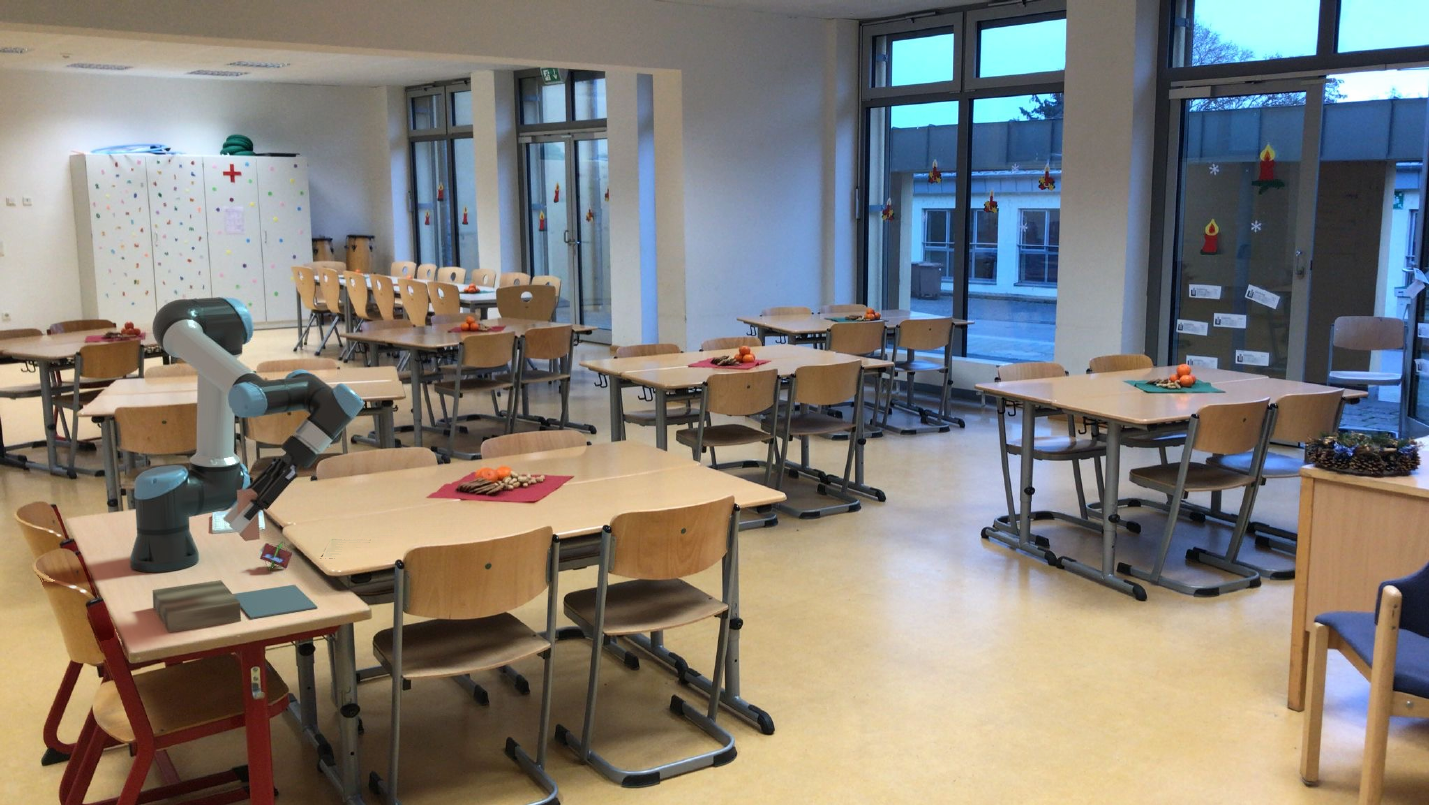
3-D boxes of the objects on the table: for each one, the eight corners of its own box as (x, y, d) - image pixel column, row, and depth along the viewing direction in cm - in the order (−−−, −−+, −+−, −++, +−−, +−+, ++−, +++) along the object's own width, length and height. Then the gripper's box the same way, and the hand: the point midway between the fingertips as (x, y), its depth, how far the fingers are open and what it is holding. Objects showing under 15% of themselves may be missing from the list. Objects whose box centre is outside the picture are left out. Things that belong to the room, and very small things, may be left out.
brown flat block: (153, 607, 254) (152, 590, 254) (221, 597, 262) (221, 580, 261) (169, 632, 240) (168, 614, 239) (240, 621, 247) (240, 602, 247)
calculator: (212, 535, 312) (211, 528, 312) (212, 517, 331) (212, 511, 330) (265, 532, 318) (265, 525, 317) (262, 514, 336) (262, 507, 336)
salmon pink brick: (239, 534, 256) (236, 490, 254) (253, 532, 258) (251, 488, 256) (245, 541, 251) (242, 495, 249) (259, 539, 253) (257, 494, 251)
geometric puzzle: (302, 556, 287) (281, 530, 286) (294, 564, 281) (273, 538, 279) (279, 573, 288) (258, 547, 286) (270, 581, 281) (249, 555, 280)
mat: (231, 595, 263) (231, 594, 263) (294, 586, 271) (294, 584, 271) (250, 619, 249) (250, 617, 249) (317, 608, 256) (317, 606, 256)
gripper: (330, 463, 252) (254, 547, 246) (307, 448, 268) (235, 526, 262) (304, 441, 248) (226, 525, 242) (282, 427, 264) (208, 506, 258)
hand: (231, 526), depth 252 cm, fingers closed on salmon pink brick, 6 cm apart
